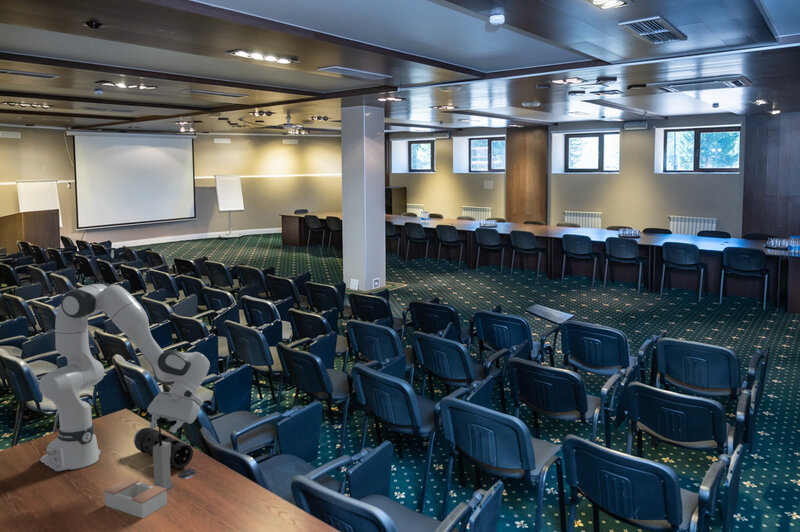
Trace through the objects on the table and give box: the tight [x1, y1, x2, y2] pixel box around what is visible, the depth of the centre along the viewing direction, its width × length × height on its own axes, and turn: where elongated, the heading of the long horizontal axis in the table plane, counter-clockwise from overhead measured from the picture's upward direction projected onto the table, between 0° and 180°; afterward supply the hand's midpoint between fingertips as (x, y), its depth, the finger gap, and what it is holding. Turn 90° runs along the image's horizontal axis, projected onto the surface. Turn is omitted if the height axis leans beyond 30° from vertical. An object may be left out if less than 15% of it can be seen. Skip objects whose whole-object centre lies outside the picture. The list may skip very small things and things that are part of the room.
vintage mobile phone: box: [152, 422, 174, 492], centre depth 217 cm, size 4×5×25 cm
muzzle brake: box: [133, 427, 194, 470], centre depth 242 cm, size 10×28×10 cm, turn 53°
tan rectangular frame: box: [103, 477, 168, 519], centre depth 208 cm, size 18×10×6 cm, turn 64°
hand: (161, 429), depth 216 cm, fingers open, 8 cm apart
